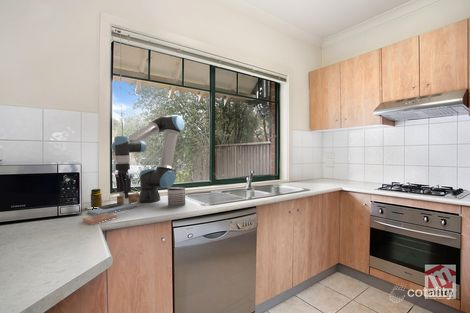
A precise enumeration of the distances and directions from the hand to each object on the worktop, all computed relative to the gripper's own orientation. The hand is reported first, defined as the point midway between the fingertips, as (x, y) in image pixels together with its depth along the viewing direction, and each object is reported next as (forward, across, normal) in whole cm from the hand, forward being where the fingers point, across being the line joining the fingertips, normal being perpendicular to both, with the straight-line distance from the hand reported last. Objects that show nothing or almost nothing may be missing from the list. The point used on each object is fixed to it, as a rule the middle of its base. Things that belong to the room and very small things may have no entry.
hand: (124, 203), depth 131 cm
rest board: (+6, -15, +2) cm, 16 cm away
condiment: (+6, -32, -1) cm, 33 cm away
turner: (0, 0, -2) cm, 2 cm away
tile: (+5, 0, -8) cm, 9 cm away
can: (+7, +11, +30) cm, 32 cm away
